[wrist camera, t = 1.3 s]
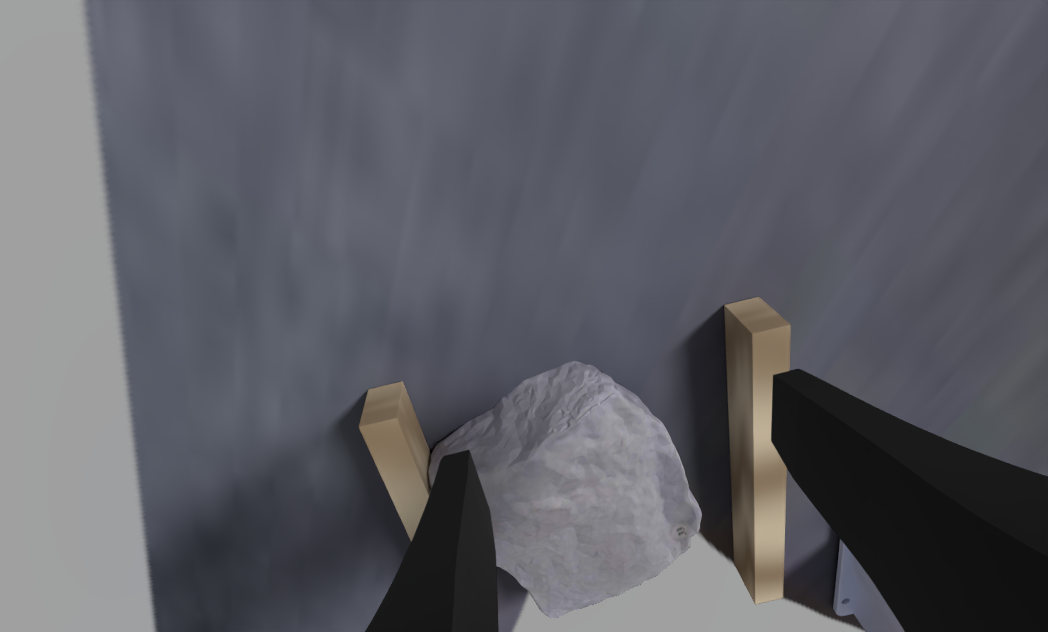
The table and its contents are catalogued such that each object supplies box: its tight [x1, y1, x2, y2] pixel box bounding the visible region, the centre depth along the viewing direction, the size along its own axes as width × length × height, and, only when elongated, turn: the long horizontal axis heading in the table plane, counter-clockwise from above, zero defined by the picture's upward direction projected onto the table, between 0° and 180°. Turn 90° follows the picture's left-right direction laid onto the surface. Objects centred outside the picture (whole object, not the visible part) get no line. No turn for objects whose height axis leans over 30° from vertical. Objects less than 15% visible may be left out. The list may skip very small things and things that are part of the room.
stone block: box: [428, 361, 702, 618], centre depth 25 cm, size 12×5×10 cm
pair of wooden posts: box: [359, 297, 791, 605], centre depth 26 cm, size 17×17×2 cm
